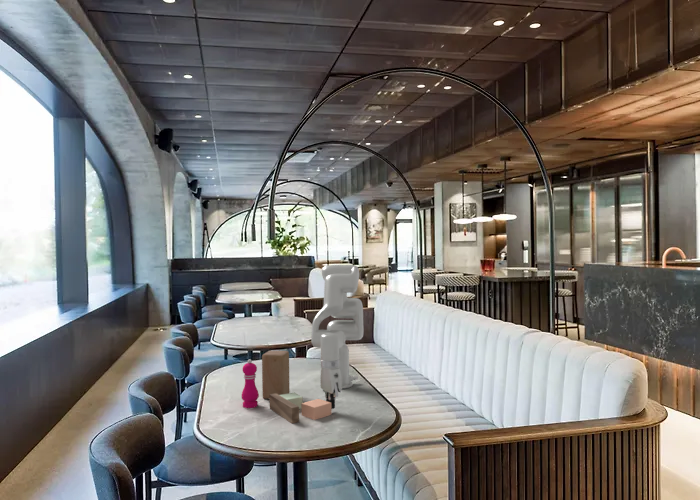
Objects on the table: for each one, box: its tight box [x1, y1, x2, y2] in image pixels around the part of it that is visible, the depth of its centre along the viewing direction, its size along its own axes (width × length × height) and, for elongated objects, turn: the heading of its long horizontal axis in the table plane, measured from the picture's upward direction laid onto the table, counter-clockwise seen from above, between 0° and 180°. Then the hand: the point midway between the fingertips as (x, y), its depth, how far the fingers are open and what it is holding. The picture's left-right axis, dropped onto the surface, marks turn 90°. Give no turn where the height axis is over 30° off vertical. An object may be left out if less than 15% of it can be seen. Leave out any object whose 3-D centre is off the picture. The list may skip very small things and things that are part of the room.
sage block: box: [280, 391, 304, 410], centre depth 230 cm, size 9×8×5 cm
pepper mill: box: [241, 358, 260, 409], centre depth 232 cm, size 7×7×20 cm
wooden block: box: [261, 350, 291, 400], centre depth 246 cm, size 10×10×20 cm
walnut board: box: [269, 393, 300, 424], centre depth 219 cm, size 3×22×6 cm, turn 31°
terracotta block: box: [301, 398, 333, 421], centre depth 219 cm, size 9×8×5 cm
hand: (330, 408), depth 223 cm, fingers closed
